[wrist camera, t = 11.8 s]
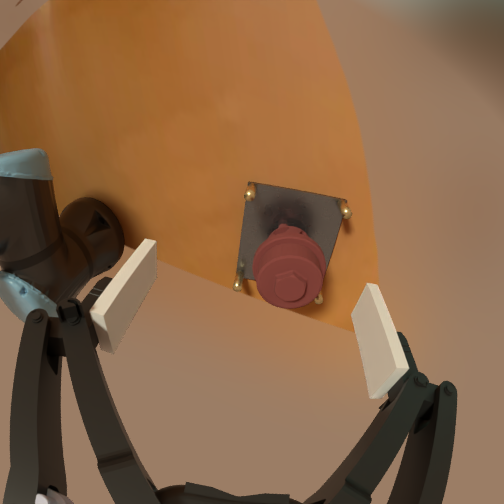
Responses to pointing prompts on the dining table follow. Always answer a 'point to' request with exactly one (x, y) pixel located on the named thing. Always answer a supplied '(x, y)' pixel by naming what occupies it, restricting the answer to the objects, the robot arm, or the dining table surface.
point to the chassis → (286, 221)
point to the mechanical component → (289, 268)
